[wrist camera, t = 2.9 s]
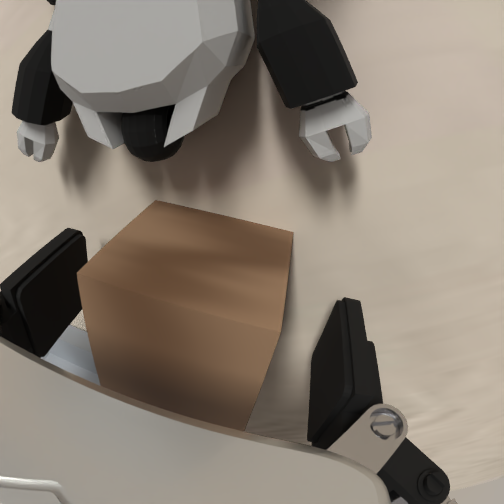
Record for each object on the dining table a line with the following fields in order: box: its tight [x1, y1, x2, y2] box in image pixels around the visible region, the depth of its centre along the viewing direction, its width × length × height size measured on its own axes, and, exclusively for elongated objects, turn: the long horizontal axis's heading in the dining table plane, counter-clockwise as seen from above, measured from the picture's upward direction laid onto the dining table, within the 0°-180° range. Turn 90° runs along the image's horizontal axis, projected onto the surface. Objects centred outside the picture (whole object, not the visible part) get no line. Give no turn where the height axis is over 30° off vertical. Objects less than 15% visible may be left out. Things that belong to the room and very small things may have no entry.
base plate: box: [41, 325, 101, 386], centre depth 18 cm, size 12×12×2 cm
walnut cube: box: [77, 200, 293, 432], centre depth 10 cm, size 5×5×5 cm
